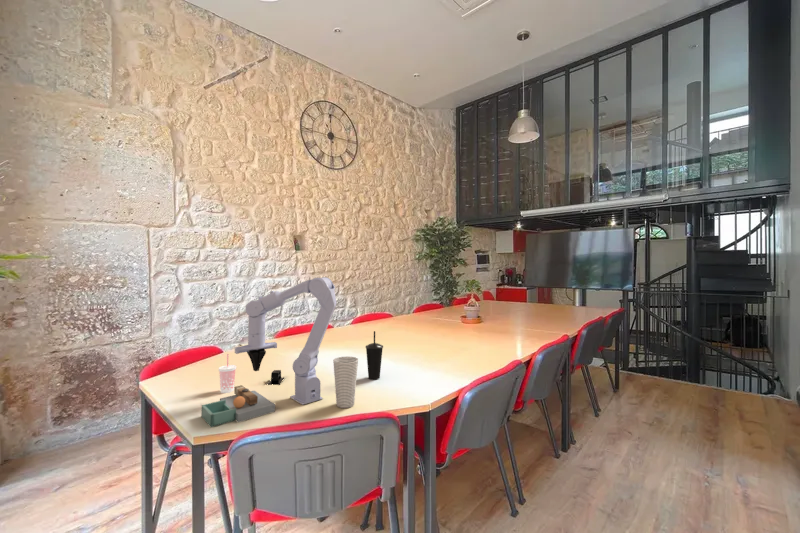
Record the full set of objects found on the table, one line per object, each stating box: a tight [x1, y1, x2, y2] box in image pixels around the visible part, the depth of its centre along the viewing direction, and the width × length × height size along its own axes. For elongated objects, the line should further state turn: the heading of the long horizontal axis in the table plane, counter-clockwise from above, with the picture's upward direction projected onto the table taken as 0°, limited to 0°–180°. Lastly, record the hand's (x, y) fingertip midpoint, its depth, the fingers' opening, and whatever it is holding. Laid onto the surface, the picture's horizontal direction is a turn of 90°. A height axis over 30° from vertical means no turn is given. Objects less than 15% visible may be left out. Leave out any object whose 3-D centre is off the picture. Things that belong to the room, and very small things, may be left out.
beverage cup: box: [218, 353, 237, 394], centre depth 130 cm, size 6×6×14 cm
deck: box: [219, 390, 276, 423], centre depth 114 cm, size 18×12×2 cm, turn 44°
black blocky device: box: [265, 369, 285, 386], centre depth 142 cm, size 12×7×5 cm, turn 4°
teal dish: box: [200, 400, 236, 428], centre depth 106 cm, size 10×7×4 cm
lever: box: [233, 384, 258, 405], centre depth 115 cm, size 14×2×3 cm, turn 44°
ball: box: [233, 396, 245, 408], centre depth 109 cm, size 4×4×4 cm
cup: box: [333, 356, 359, 409], centre depth 117 cm, size 8×8×16 cm
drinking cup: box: [365, 331, 384, 381], centre depth 147 cm, size 8×8×20 cm
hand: (256, 370), depth 125 cm, fingers closed
